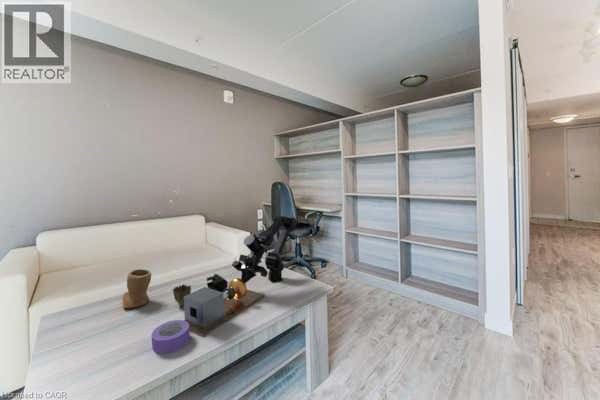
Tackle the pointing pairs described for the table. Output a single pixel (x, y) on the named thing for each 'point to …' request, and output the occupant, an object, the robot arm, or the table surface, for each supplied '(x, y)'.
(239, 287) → the gold rounded piece
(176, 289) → the cup
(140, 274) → the brown boot
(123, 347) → the table surface
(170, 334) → the tape roll
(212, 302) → the housing
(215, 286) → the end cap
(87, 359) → the table surface
